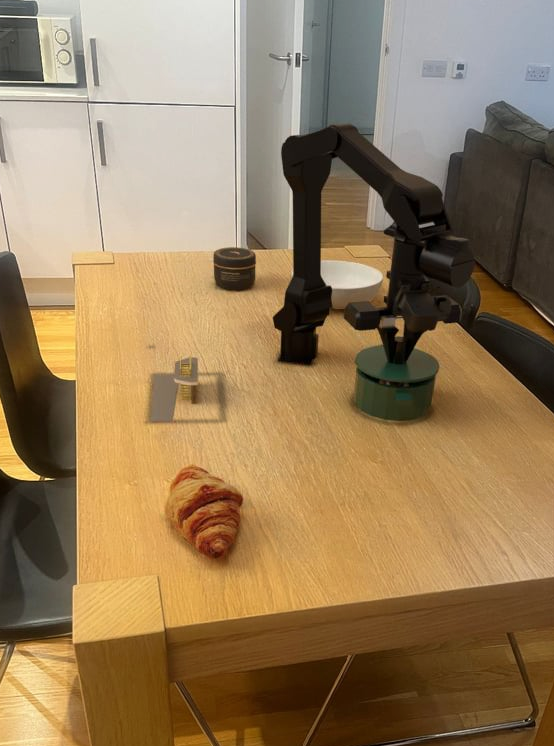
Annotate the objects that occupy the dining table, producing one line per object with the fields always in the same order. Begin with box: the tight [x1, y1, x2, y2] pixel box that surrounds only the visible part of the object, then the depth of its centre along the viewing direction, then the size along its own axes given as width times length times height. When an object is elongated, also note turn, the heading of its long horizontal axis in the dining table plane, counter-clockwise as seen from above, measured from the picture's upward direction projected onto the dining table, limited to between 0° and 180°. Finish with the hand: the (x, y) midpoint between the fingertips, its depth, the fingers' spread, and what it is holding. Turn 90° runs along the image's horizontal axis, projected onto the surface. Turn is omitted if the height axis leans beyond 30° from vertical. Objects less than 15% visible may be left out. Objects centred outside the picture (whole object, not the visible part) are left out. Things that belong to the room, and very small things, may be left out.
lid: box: [354, 336, 440, 382], centre depth 127 cm, size 14×14×5 cm
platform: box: [149, 354, 199, 423], centre depth 130 cm, size 12×18×7 cm, turn 7°
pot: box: [353, 366, 437, 422], centre depth 131 cm, size 13×19×6 cm
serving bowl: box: [290, 259, 384, 310], centre depth 172 cm, size 21×21×7 cm
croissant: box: [164, 463, 244, 559], centre depth 100 cm, size 21×10×8 cm, turn 18°
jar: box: [212, 246, 257, 292], centre depth 179 cm, size 10×10×8 cm
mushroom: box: [379, 379, 409, 387], centre depth 131 cm, size 5×5×5 cm
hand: (397, 361), depth 128 cm, fingers closed on lid, 2 cm apart
